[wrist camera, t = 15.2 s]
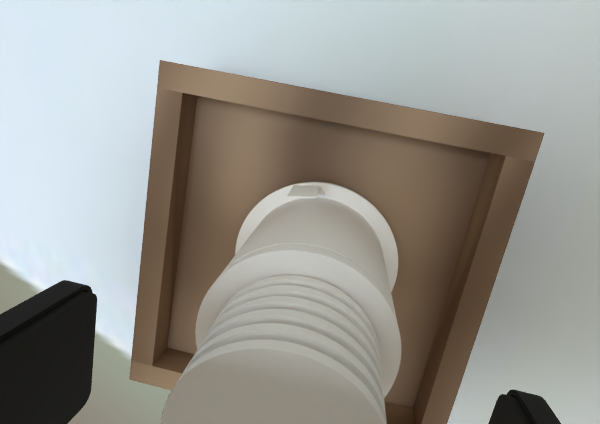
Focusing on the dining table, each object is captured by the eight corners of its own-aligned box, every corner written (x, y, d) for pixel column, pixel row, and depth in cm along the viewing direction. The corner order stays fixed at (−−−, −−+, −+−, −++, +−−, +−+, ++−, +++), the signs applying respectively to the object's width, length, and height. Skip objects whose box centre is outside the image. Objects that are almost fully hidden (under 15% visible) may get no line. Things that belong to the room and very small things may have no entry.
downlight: (233, 167, 17) (75, 254, 7) (402, 169, 16) (479, 270, 6) (242, 333, 19) (130, 570, 9) (392, 342, 18) (437, 615, 8)
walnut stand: (489, 129, 19) (544, 133, 14) (415, 378, 22) (435, 458, 17) (210, 76, 20) (159, 60, 15) (180, 320, 23) (129, 379, 18)
